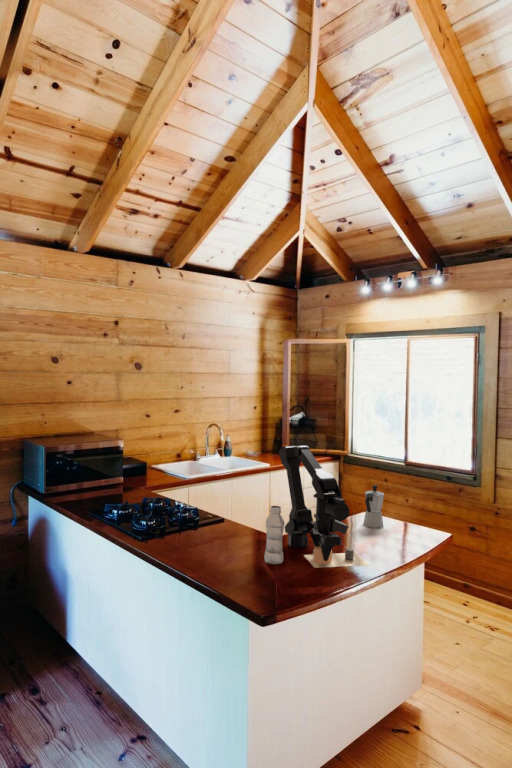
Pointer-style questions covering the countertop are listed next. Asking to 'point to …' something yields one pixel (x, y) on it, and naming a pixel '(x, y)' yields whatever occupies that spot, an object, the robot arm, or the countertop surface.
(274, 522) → the plastic bottle
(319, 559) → the cap
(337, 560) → the board
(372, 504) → the coffee maker
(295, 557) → the countertop surface
